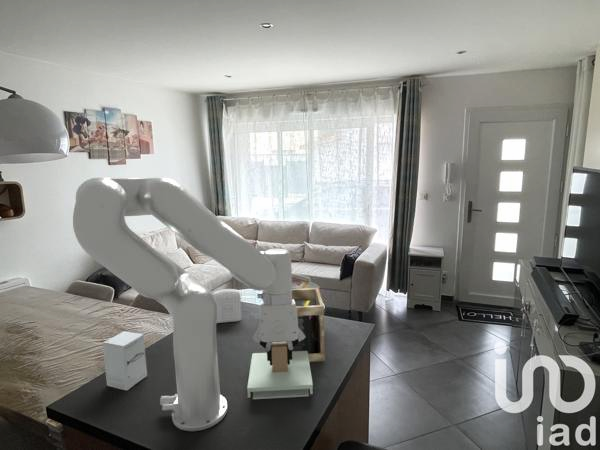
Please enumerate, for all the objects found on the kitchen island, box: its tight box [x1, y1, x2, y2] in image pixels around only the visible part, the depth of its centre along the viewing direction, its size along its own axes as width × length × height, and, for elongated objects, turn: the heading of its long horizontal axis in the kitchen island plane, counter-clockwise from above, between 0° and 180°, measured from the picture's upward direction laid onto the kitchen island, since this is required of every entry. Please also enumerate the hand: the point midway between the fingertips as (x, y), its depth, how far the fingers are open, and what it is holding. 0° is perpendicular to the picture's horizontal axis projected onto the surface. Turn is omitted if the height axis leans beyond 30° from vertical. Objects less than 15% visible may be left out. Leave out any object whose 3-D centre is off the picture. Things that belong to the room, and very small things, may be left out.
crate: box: [292, 288, 326, 363], centre depth 112 cm, size 14×16×17 cm
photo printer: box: [213, 288, 242, 324], centre depth 135 cm, size 10×4×12 cm, turn 102°
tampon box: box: [292, 299, 317, 354], centre depth 112 cm, size 11×9×15 cm
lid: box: [246, 341, 314, 398], centre depth 95 cm, size 16×17×10 cm
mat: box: [252, 389, 310, 400], centre depth 96 cm, size 14×14×1 cm
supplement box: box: [101, 331, 148, 391], centre depth 97 cm, size 7×7×13 cm
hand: (279, 361), depth 95 cm, fingers closed on lid, 3 cm apart
